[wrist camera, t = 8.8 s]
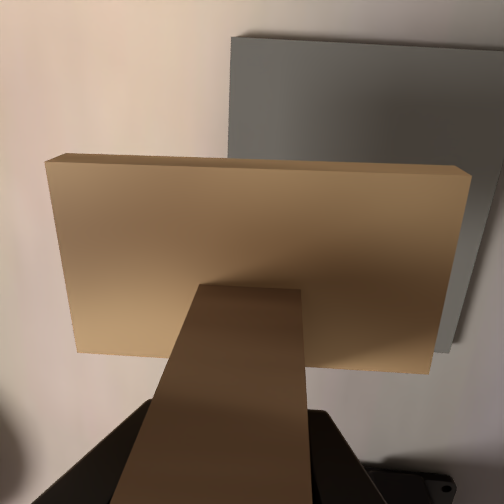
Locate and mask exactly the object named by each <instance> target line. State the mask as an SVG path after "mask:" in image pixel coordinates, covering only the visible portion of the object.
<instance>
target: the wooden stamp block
mask: <svg viewBox="0 0 504 504" xmlns="http://www.w3.org/2000/svg"><path fill="white" fill-rule="evenodd" d="M45 168H46V174H47V179H48V185H49V191H50V197H51V203H52V208H53V214H54V220H55V226H56V232H57V238H58V243H59V249H60V255H61V261H62V267H63V272H64V278H65V284H66V290H67V296H68V302H69V307H70V313H71V319H72V325H73V331H74V336H75V342H76V348H77V353H91V354H107V355H123V356H139V357H156V358H169V360H168V362H167V364H166V367H165V369H164V372H163V374H162V377H161V379H160V382H159V384H158V387H157V389H156V391H155V394H154V396H153V399H152V401H151V404H150V406H149V409H148V411H147V413H146V416H145V418H144V421H143V423H142V426H141V428H140V431H139V433H138V436H137V438H136V440H135V443H134V445H133V448H132V450H131V453H130V455H129V458H128V460H127V463H126V465H125V467H124V470H123V472H122V475H121V477H120V480H119V482H118V485H117V487H116V489H115V492H114V494H113V497H112V499H111V502H110V504H312V487H311V468H310V450H309V431H308V413H307V394H306V376H305V367H317V368H333V369H349V370H365V371H381V372H397V373H413V374H429V371H430V366H431V362H432V357H433V352H434V348H435V343H436V339H437V334H438V330H439V325H440V320H441V316H442V311H443V307H444V302H445V298H446V293H447V288H448V284H449V279H450V275H451V270H452V266H453V261H454V256H455V252H456V247H457V243H458V238H459V234H460V229H461V224H462V220H463V215H464V211H465V206H466V202H467V197H468V192H469V188H470V183H471V179H472V176H471V175H470V174H468V173H466V172H465V171H463V170H461V169H460V168H458V167H456V166H453V165H422V164H390V163H359V162H327V161H296V160H264V159H233V158H201V157H170V156H138V155H107V154H75V153H65V154H63V155H60V156H58V157H55V158H53V159H50V160H48V161H45Z"/></svg>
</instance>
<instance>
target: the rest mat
mask: <svg viewBox="0 0 504 504" xmlns="http://www.w3.org/2000/svg"><path fill="white" fill-rule="evenodd" d="M228 158H233V159H264V160H296V161H327V162H359V163H390V164H422V165H453V166H456V167H458V168H460V169H461V170H463V171H465V172H466V173H468V174H470V175H471V176H472V179H471V183H470V188H469V192H468V197H467V202H466V206H465V211H464V215H463V220H462V224H461V229H460V234H459V238H458V243H457V247H456V252H455V256H454V261H453V266H452V270H451V275H450V279H449V284H448V288H447V293H446V298H445V302H444V307H443V311H442V316H441V320H440V325H439V330H438V334H437V339H436V343H435V348H434V352H437V353H449V352H450V349H451V345H452V342H453V338H454V335H455V331H456V327H457V324H458V320H459V317H460V313H461V310H462V306H463V303H464V299H465V296H466V292H467V289H468V285H469V282H470V278H471V274H472V271H473V267H474V264H475V260H476V257H477V253H478V250H479V246H480V243H481V239H482V236H483V232H484V228H485V225H486V221H487V218H488V214H489V211H490V207H491V204H492V200H493V197H494V193H495V190H496V186H497V183H498V179H499V175H500V172H501V168H502V165H503V161H504V51H490V50H471V49H452V48H433V47H415V46H396V45H377V44H358V43H339V42H320V41H302V40H283V39H264V38H245V37H231V57H230V92H229V127H228Z"/></svg>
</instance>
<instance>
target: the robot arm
mask: <svg viewBox="0 0 504 504" xmlns="http://www.w3.org/2000/svg"><path fill="white" fill-rule="evenodd" d="M151 401H152V399H149V400H147V401H145V402H144V403H143V404H142V405H141V406H140V407H139V408H138V409H136V410H135V411H134V412H133V413H132V414H131V415H130V416H129V417H128V418H126V419H125V420H124V421H123V422H122V423H121V424H120V425H119V426H117V427H116V428H115V429H114V430H113V431H112V432H111V433H110V434H108V435H107V436H106V437H105V438H104V439H103V440H102V441H101V442H100V443H98V444H97V445H96V446H95V447H94V448H93V449H92V450H91V451H89V452H88V453H87V454H86V455H85V456H84V457H83V458H82V459H80V460H79V461H78V462H77V463H76V464H75V465H74V466H73V467H72V468H70V469H69V470H68V471H67V472H66V473H65V474H64V475H63V476H61V477H60V478H59V479H58V480H57V481H56V482H55V483H54V484H53V485H51V486H50V487H49V488H48V489H47V490H46V491H45V492H44V493H42V494H41V495H40V496H39V497H38V498H37V499H36V500H35V501H33V502H32V503H31V504H110V502H111V499H112V497H113V494H114V492H115V489H116V487H117V485H118V482H119V480H120V477H121V475H122V472H123V470H124V467H125V465H126V463H127V460H128V458H129V455H130V453H131V450H132V448H133V445H134V443H135V440H136V438H137V436H138V433H139V431H140V428H141V426H142V423H143V421H144V418H145V416H146V413H147V411H148V409H149V406H150V404H151ZM307 413H308V431H309V450H310V468H311V487H312V504H452V501H453V498H454V496H455V493H456V489H457V487H456V485H455V482H454V480H453V478H452V477H450V476H447V475H439V474H429V473H419V472H409V471H399V470H389V469H379V468H369V467H363V466H362V464H361V463H360V461H359V460H358V458H357V457H356V455H355V454H354V452H353V451H352V449H351V448H350V446H349V445H348V443H347V442H346V440H345V438H344V437H343V435H342V434H341V432H340V431H339V429H338V428H337V426H336V425H335V423H334V422H333V420H332V419H331V417H330V415H329V414H328V413H327V412H326V411H324V410H311V409H307Z"/></svg>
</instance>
